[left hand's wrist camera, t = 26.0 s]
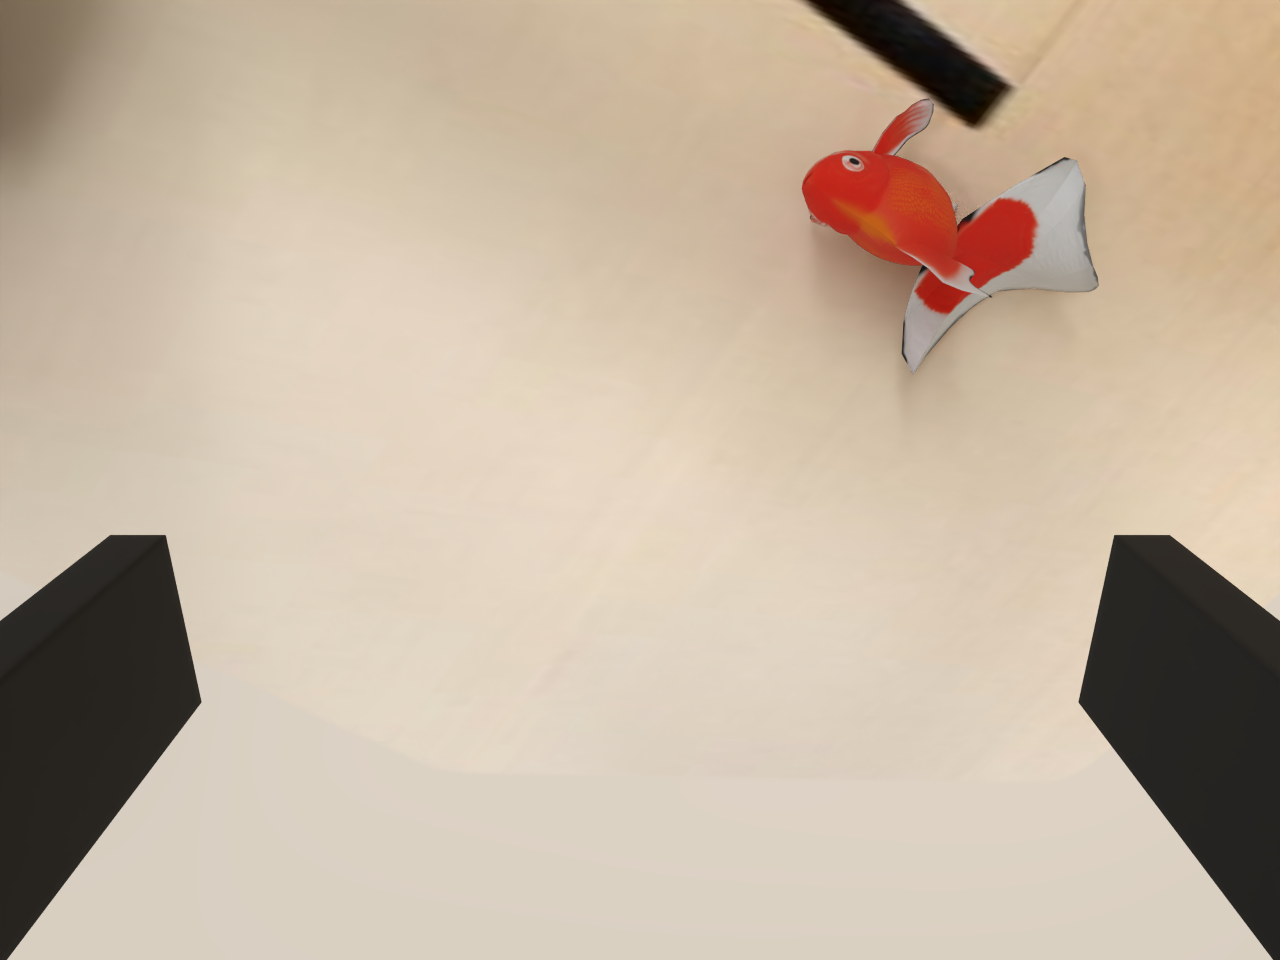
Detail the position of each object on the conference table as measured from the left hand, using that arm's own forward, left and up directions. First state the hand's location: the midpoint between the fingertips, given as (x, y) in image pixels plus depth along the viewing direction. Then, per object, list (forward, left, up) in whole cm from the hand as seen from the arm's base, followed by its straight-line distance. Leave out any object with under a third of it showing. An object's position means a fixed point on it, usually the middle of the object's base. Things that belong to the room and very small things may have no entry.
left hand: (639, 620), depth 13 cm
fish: (+14, -4, -36) cm, 39 cm away
